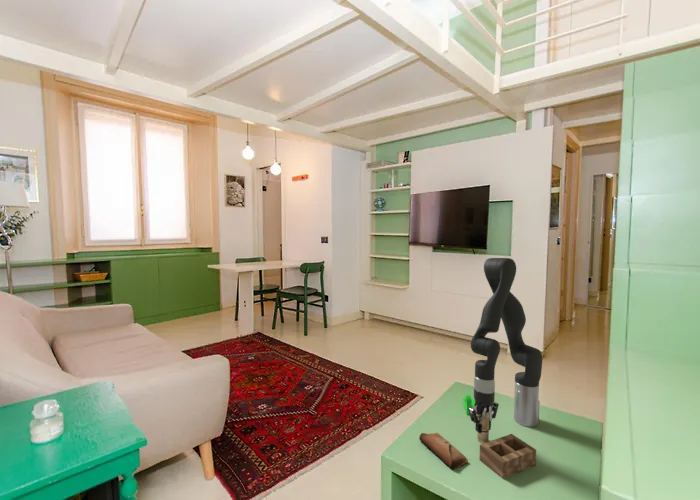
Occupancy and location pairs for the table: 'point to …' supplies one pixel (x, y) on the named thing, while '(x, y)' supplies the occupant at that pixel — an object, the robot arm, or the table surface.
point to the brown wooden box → (507, 455)
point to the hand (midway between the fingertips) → (483, 430)
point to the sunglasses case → (443, 450)
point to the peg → (484, 429)
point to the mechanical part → (468, 403)
